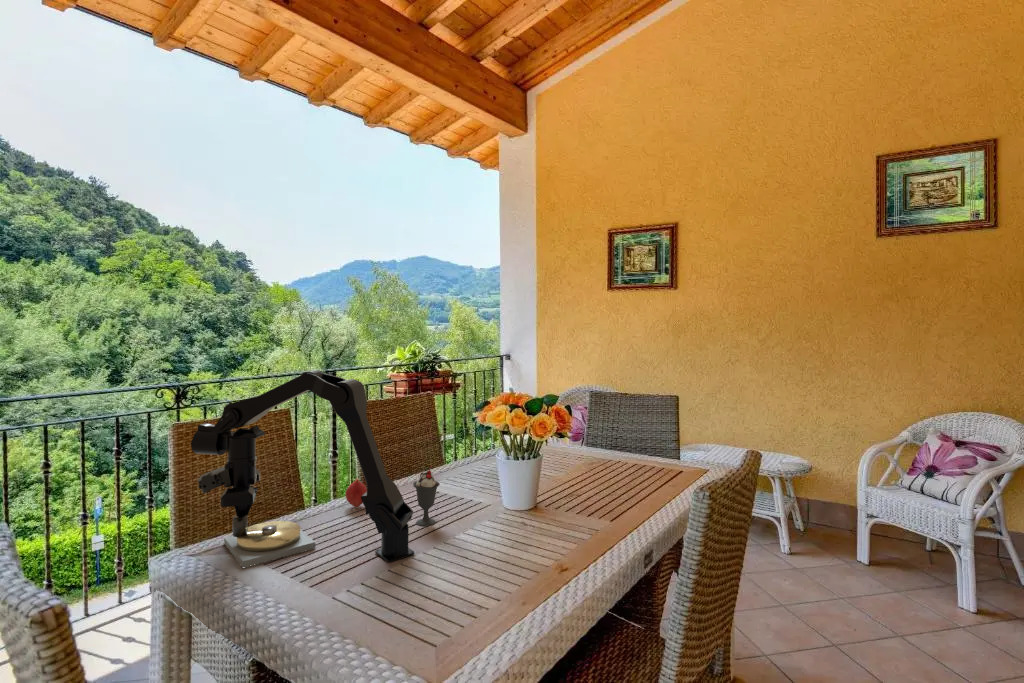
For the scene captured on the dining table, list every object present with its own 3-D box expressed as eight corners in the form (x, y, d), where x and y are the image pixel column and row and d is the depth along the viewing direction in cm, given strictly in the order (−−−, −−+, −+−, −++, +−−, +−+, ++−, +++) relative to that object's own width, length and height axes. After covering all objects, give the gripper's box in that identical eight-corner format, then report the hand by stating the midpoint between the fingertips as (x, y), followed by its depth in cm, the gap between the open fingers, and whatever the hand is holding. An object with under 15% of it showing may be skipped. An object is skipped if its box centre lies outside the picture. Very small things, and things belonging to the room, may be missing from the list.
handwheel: (276, 523, 129) (276, 500, 129) (312, 535, 122) (312, 511, 122) (224, 542, 118) (224, 517, 117) (261, 556, 111) (261, 530, 111)
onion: (340, 508, 144) (341, 479, 144) (356, 502, 149) (356, 474, 149) (356, 512, 142) (357, 483, 141) (372, 506, 147) (372, 477, 146)
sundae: (434, 528, 132) (434, 469, 131) (408, 526, 133) (409, 467, 132) (442, 519, 138) (443, 462, 138) (418, 516, 140) (419, 460, 139)
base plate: (315, 548, 119) (315, 542, 119) (242, 568, 110) (242, 561, 109) (291, 527, 131) (291, 521, 131) (224, 544, 121) (224, 537, 121)
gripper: (208, 448, 126) (209, 512, 127) (192, 470, 109) (193, 545, 110) (260, 444, 130) (260, 507, 131) (252, 466, 113) (253, 538, 114)
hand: (242, 523), depth 121 cm, fingers closed
